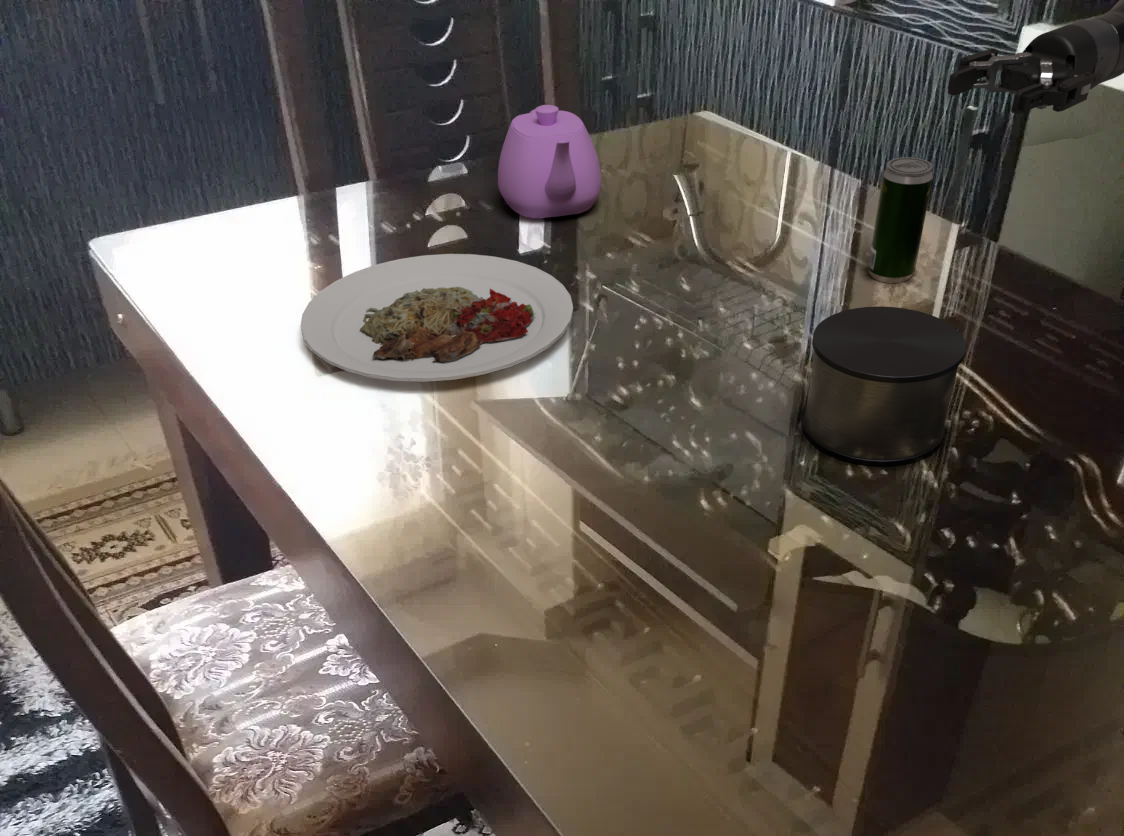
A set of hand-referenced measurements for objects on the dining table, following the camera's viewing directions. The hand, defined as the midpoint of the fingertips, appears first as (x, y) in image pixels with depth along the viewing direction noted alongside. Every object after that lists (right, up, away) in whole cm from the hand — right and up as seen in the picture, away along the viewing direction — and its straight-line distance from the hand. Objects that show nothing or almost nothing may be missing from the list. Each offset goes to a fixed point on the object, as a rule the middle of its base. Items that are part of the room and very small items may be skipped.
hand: (983, 94), depth 127 cm
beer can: (-8, -17, +7) cm, 20 cm away
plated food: (-60, -25, +1) cm, 65 cm away
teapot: (-48, -2, +24) cm, 54 cm away
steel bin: (-17, -41, -16) cm, 48 cm away
